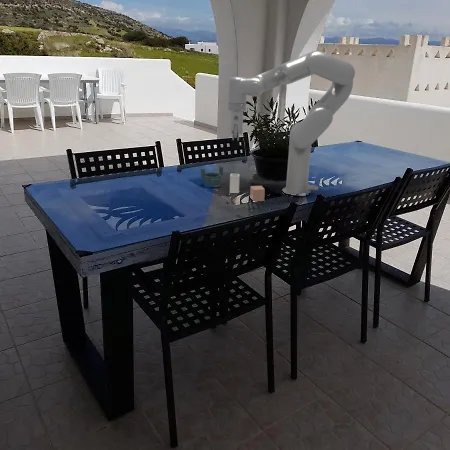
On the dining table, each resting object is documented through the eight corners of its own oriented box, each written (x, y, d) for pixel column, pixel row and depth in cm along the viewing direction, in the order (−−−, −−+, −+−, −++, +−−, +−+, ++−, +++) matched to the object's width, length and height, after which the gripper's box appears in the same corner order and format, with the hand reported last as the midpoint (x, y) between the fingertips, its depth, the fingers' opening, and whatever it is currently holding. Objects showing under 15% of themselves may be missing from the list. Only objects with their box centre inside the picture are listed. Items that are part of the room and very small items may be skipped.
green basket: (199, 186, 205) (199, 167, 202) (209, 181, 213) (209, 163, 209) (216, 189, 202) (216, 170, 198) (225, 184, 209) (225, 166, 206)
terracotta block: (260, 198, 190) (261, 185, 188) (264, 202, 186) (264, 189, 183) (249, 199, 189) (250, 186, 187) (252, 203, 185) (253, 189, 183)
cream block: (238, 193, 197) (239, 173, 194) (238, 195, 193) (239, 175, 190) (230, 192, 197) (230, 173, 194) (229, 195, 194) (230, 175, 190)
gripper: (245, 109, 181) (243, 153, 188) (246, 105, 194) (243, 146, 201) (227, 108, 181) (225, 152, 188) (229, 104, 195) (227, 145, 202)
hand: (235, 149), depth 195 cm, fingers closed
